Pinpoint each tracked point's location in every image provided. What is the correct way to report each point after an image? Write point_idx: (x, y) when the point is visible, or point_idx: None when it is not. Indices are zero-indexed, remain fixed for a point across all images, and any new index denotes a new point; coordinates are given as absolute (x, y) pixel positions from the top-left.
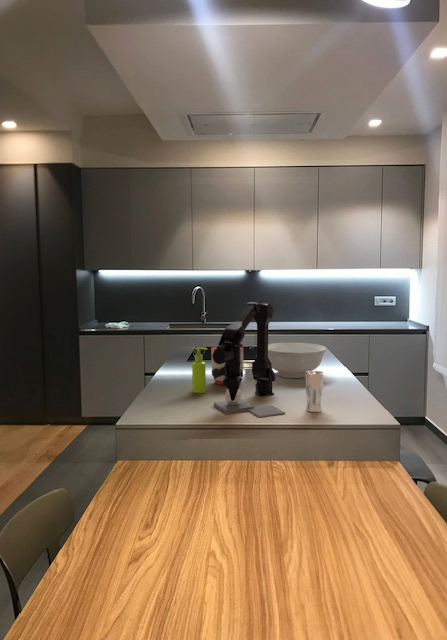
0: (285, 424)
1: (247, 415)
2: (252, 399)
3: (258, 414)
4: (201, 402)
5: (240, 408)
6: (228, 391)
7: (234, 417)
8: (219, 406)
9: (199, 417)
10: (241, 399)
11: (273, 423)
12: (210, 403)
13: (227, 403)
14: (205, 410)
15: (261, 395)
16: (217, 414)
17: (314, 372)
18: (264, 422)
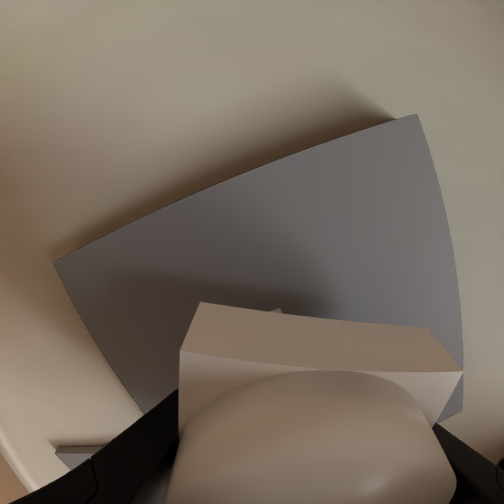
0: (23, 481)
1: (77, 409)
2: (477, 439)
3: (80, 460)
4: (499, 27)
5: (141, 407)
6: (193, 474)
7: (15, 317)
8: (222, 182)
9: (12, 27)
10: (444, 417)
11: (13, 458)
12: (482, 98)
13: (342, 297)
14: (211, 18)
15: (500, 465)
16: (61, 166)
17: None
18: (7, 436)
